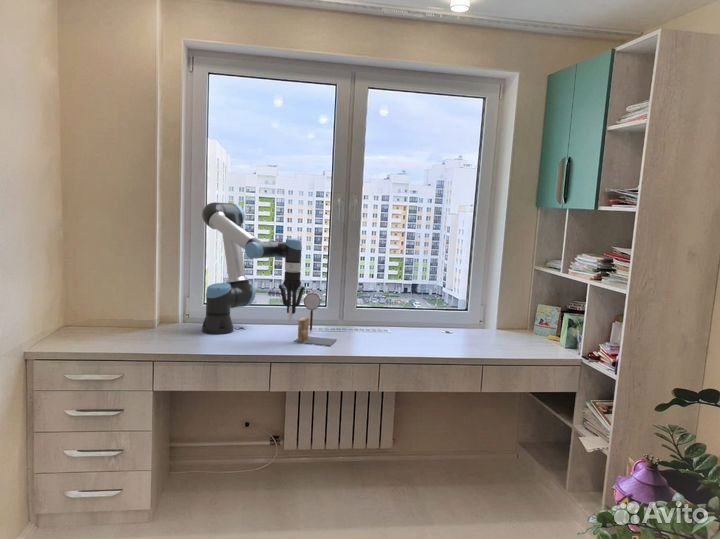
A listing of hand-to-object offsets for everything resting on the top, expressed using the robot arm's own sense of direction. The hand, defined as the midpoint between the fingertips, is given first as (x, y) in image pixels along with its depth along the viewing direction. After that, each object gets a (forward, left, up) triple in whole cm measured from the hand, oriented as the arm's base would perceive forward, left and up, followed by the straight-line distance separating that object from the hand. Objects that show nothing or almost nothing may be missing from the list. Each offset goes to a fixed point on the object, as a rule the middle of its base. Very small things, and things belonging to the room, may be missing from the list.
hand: (290, 320), depth 250 cm
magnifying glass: (+4, +20, -10) cm, 23 cm away
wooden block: (+6, 0, -9) cm, 11 cm away
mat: (+12, +1, -10) cm, 16 cm away
